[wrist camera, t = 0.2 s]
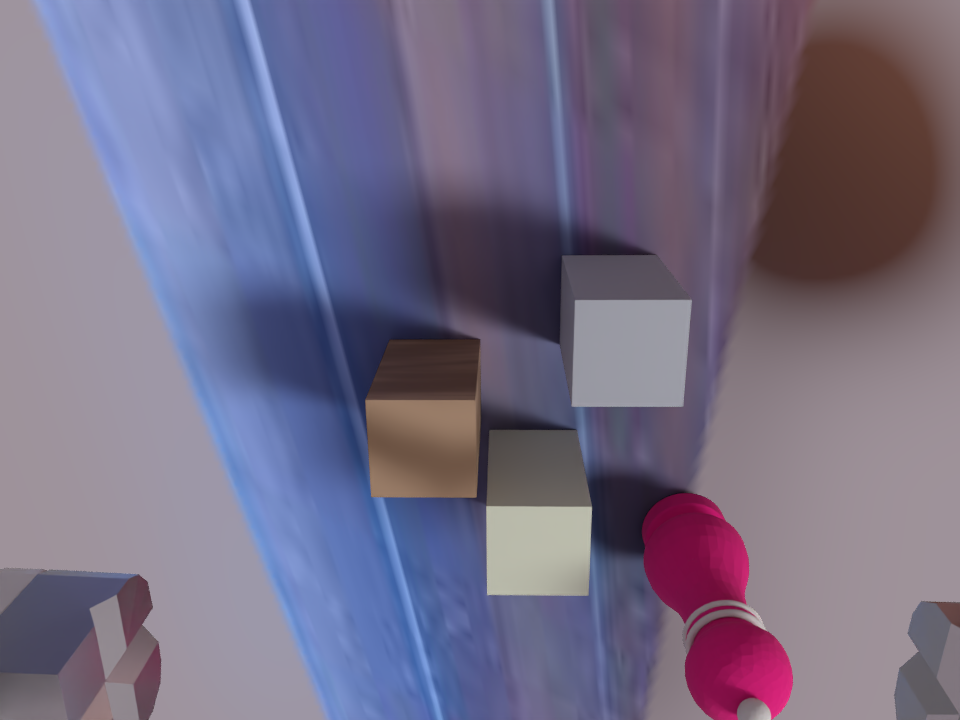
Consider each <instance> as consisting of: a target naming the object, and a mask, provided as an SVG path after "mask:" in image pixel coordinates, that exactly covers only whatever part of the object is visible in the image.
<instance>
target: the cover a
mask: <svg viewBox="0 0 960 720" xmlns="http://www.w3.org/2000/svg"><path fill="white" fill-rule="evenodd" d="M365 404H366V420H367V436H368V452H369V468H370V484H371V497H463V498H476V497H477V481H478V464H479V448H480V432H481V369H480V339H400V340H389V342H388V345H387V347H386V350H385V352H384V355H383V357H382V360H381V362H380V365H379V367H378V370H377V372H376V375H375V377H374V380H373V382H372V385H371V387H370V390H369V392H368V394H367V397H366V399H365Z"/></svg>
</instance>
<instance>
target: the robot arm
mask: <svg viewBox="0 0 960 720" xmlns="http://www.w3.org/2000/svg"><path fill="white" fill-rule="evenodd" d="M152 608H153V606H152V601H151V596H150V591H149V586H148V582H147V581H146V580H145V579H143V578H142V577H141V576H140V575H139V574H122V573H104V572H102V573H101V572H86V571H68V570H48V571H47V570H43V569H21V568H4V569H0V720H149V718H150V716H151V713H152V712H153V709H154V705H155V701H156V698H157V694H158V690H159V686H160V678H161V657H160V649H159V643H158V641H157V640H156V639H155V638H154V637H153V636H152V635H151V633H150V632H149V631H148V630H147V629H146V628H145V627H144V626H143V625H142V624H143V622H144V621H145V619H146V618H147V616H148V614H149V613H150V611H151V610H152ZM908 635H909V637H910V638H911V640H912V641H913V643H914V644H915V646H916V648H917V649H918V651H919V652H917V653H916V654H915V655H914V656H913V657H912V658H911V659H910V660H908V661H907V662H906V663H905V664H904V665H903V666H902V667H900V668H899V673H898V678H897V684H896V689H895V694H894V696H895V707H896V718H897V720H960V602H931V601H929V602H928V601H921V602H920V604H919V605H918V607H917V608H916V610H915V611H914V612H913V614H912V619H911V622H910V626H909V630H908Z"/></svg>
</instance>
